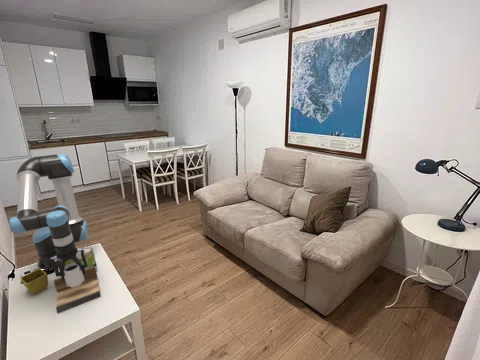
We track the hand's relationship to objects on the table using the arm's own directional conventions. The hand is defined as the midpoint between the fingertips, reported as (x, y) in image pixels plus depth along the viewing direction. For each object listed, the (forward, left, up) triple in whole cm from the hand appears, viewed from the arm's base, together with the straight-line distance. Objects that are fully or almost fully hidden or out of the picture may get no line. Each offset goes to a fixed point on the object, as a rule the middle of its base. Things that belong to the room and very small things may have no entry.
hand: (75, 282), depth 124 cm
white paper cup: (0, 0, -1) cm, 1 cm away
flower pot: (-16, -18, -8) cm, 25 cm away
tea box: (-17, +1, -8) cm, 19 cm away
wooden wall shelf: (+1, 0, -8) cm, 8 cm away
